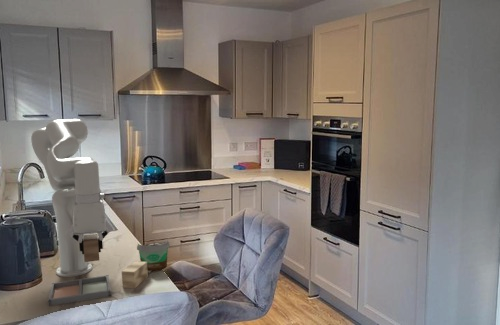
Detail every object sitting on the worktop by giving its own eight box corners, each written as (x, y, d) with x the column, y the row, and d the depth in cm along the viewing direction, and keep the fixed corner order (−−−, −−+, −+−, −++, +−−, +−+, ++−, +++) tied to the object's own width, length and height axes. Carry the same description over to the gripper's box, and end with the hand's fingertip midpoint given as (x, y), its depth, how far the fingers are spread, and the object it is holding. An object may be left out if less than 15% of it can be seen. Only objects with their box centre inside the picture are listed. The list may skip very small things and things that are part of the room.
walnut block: (84, 252, 154) (83, 235, 153) (98, 250, 155) (97, 233, 154) (84, 262, 144) (83, 244, 144) (99, 260, 146) (98, 242, 145)
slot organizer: (52, 288, 153) (51, 283, 153) (108, 280, 159) (108, 275, 159) (48, 306, 140) (48, 300, 139) (110, 296, 146) (110, 290, 145)
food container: (140, 274, 164) (139, 248, 163) (137, 269, 170) (136, 243, 168) (174, 269, 169) (172, 243, 167) (170, 264, 174) (169, 239, 173)
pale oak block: (136, 277, 162) (135, 261, 161) (148, 277, 161) (147, 261, 160) (122, 288, 153) (121, 271, 152) (134, 289, 152) (133, 272, 151)
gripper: (114, 193, 153) (117, 245, 156) (60, 198, 148) (64, 251, 150) (115, 198, 146) (118, 252, 149) (59, 203, 141) (63, 259, 143)
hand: (91, 251), depth 150 cm, fingers closed on walnut block, 4 cm apart
